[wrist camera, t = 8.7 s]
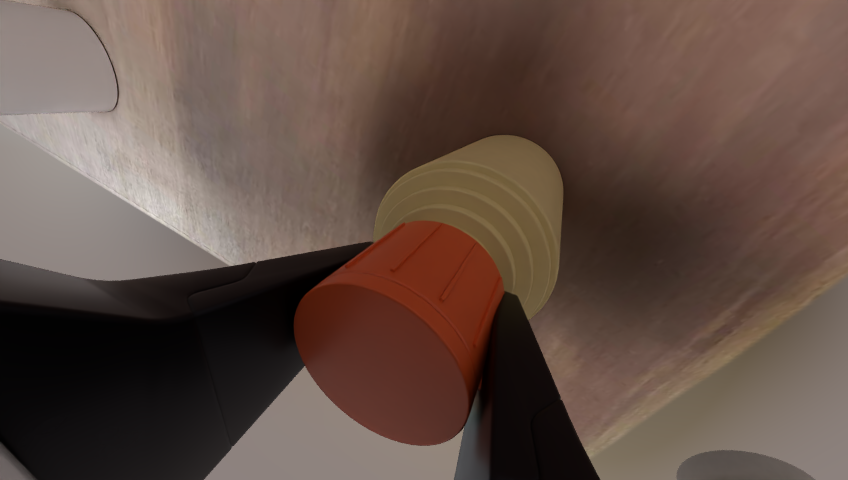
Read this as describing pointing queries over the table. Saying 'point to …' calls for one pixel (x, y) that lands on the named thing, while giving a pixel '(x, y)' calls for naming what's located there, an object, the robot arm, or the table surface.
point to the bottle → (491, 208)
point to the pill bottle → (51, 63)
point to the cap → (404, 332)
